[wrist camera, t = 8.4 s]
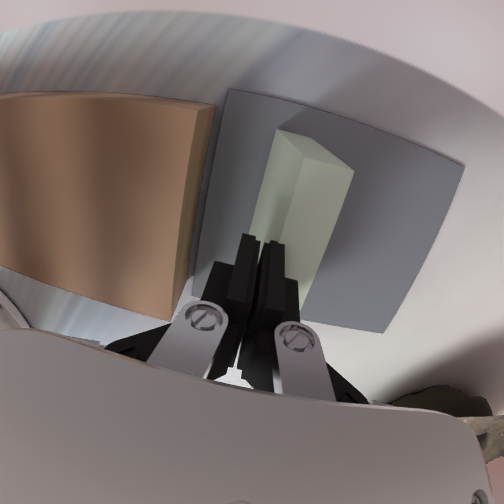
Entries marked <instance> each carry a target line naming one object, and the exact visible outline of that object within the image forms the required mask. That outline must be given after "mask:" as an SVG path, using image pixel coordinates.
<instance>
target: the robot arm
mask: <svg viewBox="0 0 504 504" xmlns="http://www.w3.org/2000/svg"><path fill="white" fill-rule="evenodd" d="M260 244H261V241H258V240H256V236H254V235H249V234H245V233H242V236H241V240H240V244H239V248H238V252H237V256H236V260H235V264H234V265H232V264H228V263H224V262H220V261H216V260H215V261H214V263H213V266H212V269H211V271H210V274H209V277H208V280H207V283H206V285H205V288H204V291H203V294H202V297H201V299H200V301H193V302H190V303H188V304H186V305H185V306H184V307H183V308H182V309H181V310H180V312H179V313H178V315H177V316H176V318H175V319H174V321H173V322H172V323H170V324H167V325H164V326H161V327H158V328H155V329H152V330H149V331H146V332H142V333H139V334H136V335H133V336H130V337H127V338H123V339H120V340H117V341H114V342H112V343H110V344H108V345H107V346H104V345H101V343H100V341H94V340H88V339H82V338H76V337H70V336H65V335H61V334H57V333H54V332H50V331H45V330H40V329H34V328H30V327H29V325H28V323H27V322H26V320H25V319H24V317H23V316H22V315H21V313H20V312H19V311H18V309H17V308H16V307H15V306H14V305H13V303H12V302H11V301H10V300H9V299H8V298H7V297H6V296H5V295H4V294H3V293H2V292H1V291H0V504H495V502H494V496H493V490H492V485H491V481H490V477H489V473H488V469H487V465H486V461H485V458H484V455H483V452H482V449H481V447H480V444H479V442H478V439H477V437H476V435H475V433H474V432H473V430H472V429H471V428H470V426H469V425H467V424H466V423H465V422H463V421H461V420H460V419H458V418H456V417H453V416H451V415H448V414H445V413H441V412H438V411H433V410H426V409H418V408H406V407H396V406H392V405H389V404H385V403H382V402H378V401H375V400H372V401H371V402H368V401H367V399H366V398H365V397H364V396H363V394H362V393H360V392H359V391H358V390H357V389H356V388H355V387H354V386H353V385H351V384H350V383H349V382H348V381H347V380H346V379H345V378H343V377H342V376H341V375H340V374H339V373H338V372H337V371H336V370H334V369H333V368H332V367H331V366H330V365H329V364H328V363H327V362H326V361H325V358H324V354H323V351H322V347H321V343H320V340H319V338H318V336H317V334H316V333H315V332H314V331H313V329H311V328H310V327H308V326H307V325H305V324H302V323H300V309H299V290H298V281H297V280H294V279H290V278H286V277H285V244H280V243H278V241H274V240H270V243H266V242H264V245H263V248H262V252H261V255H260V259H259V251H260ZM258 259H259V262H258ZM240 343H241V345H240ZM239 346H240V351H239V357H238V363H237V369H240V370H242V375H241V379H245V380H246V381H247V382H248V383H249V384H250V385H251V386H252V387H251V388H245V387H241V386H236V385H231V384H226V383H222V382H218V381H214V380H215V379H217V378H219V377H221V376H223V375H225V374H226V372H227V369H228V367H231V368H233V365H234V362H235V359H236V356H237V352H238V349H239Z"/></svg>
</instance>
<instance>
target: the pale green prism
mask: <svg viewBox="0 0 504 504" xmlns="http://www.w3.org/2000/svg"><path fill="white" fill-rule="evenodd" d="M353 174H354V170H352V169H351V168H350V167H349V166H347V165H346V164H345V163H343V162H342V161H341V160H340V159H338V158H337V157H336V156H334V155H333V154H332V153H330V152H329V151H328V150H327V149H325V148H324V147H322V146H321V145H320V144H318V143H317V142H316V141H314V140H313V139H312V138H310V137H306V136H303V135H299V134H295V133H291V132H287V131H283V130H279V129H276V132H275V136H274V140H273V143H272V147H271V151H270V155H269V158H268V162H267V166H266V170H265V173H264V177H263V181H262V185H261V188H260V192H259V196H258V200H257V204H256V207H255V211H254V215H253V219H252V223H251V227H250V230H249V235H254V236H256V240H258V241H261V244H260V251H259V259H260V255H261V252H262V248H263V245H264V242H266V243H270V240H274V241H278V243H280V244H285V277H286V278H290V279H294V280H297V281H298V290H299V309H300V310H301V308H302V305H303V303H304V301H305V298H306V296H307V294H308V291H309V289H310V287H311V284H312V282H313V279H314V277H315V275H316V272H317V270H318V267H319V265H320V262H321V260H322V257H323V255H324V252H325V250H326V247H327V245H328V242H329V239H330V237H331V234H332V232H333V229H334V226H335V224H336V221H337V218H338V216H339V213H340V210H341V208H342V205H343V202H344V199H345V197H346V194H347V191H348V188H349V186H350V183H351V180H352V177H353ZM259 259H258V262H259ZM240 345H241V343H240ZM239 351H240V346H239V349H238V357H239Z"/></svg>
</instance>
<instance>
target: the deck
mask: <svg viewBox="0 0 504 504" xmlns="http://www.w3.org/2000/svg"><path fill="white" fill-rule="evenodd" d="M215 109H216V105H211V104H205V103H199V102H192V101H186V100H179V99H171V98H163V97H155V96H145V95H135V94H123V93H107V92H84V91H39V92H17V93H3V94H0V266H3V267H5V268H7V269H10V270H12V271H15V272H17V273H20V274H23V275H25V276H28V277H30V278H33V279H36V280H38V281H41V282H44V283H47V284H49V285H52V286H55V287H58V288H61V289H64V290H66V291H69V292H72V293H75V294H78V295H81V296H84V297H87V298H90V299H94V300H97V301H100V302H103V303H106V304H110V305H113V306H116V307H119V308H123V309H126V310H130V311H133V312H137V313H140V314H144V315H147V316H151V317H155V318H158V319H162V320H166V321H171V318H172V316H173V313H174V311H175V308H176V306H177V303H178V301H179V298H180V296H181V293H182V291H183V289H184V286H185V284H186V281H187V275H188V267H189V260H190V253H191V246H192V239H193V232H194V225H195V219H196V212H197V206H198V200H199V194H200V188H201V182H202V176H203V170H204V165H205V159H206V154H207V149H208V143H209V138H210V133H211V128H212V123H213V118H214V113H215Z"/></svg>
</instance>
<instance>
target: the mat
mask: <svg viewBox="0 0 504 504" xmlns="http://www.w3.org/2000/svg"><path fill="white" fill-rule="evenodd" d="M276 129H279V130H283V131H287V132H291V133H295V134H299V135H303V136H306V137H310V138H312V139H313V140H314V141H316V142H317V143H318V144H320V145H321V146H322V147H324V148H325V149H327V150H328V151H329V152H330V153H332V154H333V155H334V156H336V157H337V158H338V159H340V160H341V161H342V162H343V163H345V164H346V165H347V166H349V167H350V168H351V169H352V170H354V174H353V177H352V180H351V183H350V186H349V188H348V191H347V194H346V197H345V199H344V202H343V205H342V208H341V210H340V213H339V216H338V218H337V221H336V224H335V226H334V229H333V232H332V234H331V237H330V239H329V242H328V245H327V247H326V250H325V252H324V255H323V257H322V260H321V262H320V265H319V267H318V270H317V272H316V275H315V277H314V279H313V282H312V284H311V287H310V289H309V291H308V294H307V296H306V298H305V301H304V303H303V305H302V308H301V310H300V319H301V320H306V321H312V322H317V323H323V324H328V325H334V326H340V327H345V328H351V329H357V330H363V331H370V332H376V333H384V331H385V330H386V328H387V327H388V325H389V323H390V322H391V320H392V318H393V317H394V315H395V313H396V312H397V310H398V308H399V307H400V305H401V303H402V301H403V300H404V298H405V296H406V294H407V293H408V291H409V289H410V287H411V285H412V284H413V282H414V280H415V278H416V276H417V274H418V272H419V270H420V269H421V267H422V265H423V263H424V261H425V259H426V257H427V255H428V253H429V251H430V249H431V247H432V244H433V242H434V240H435V238H436V236H437V234H438V232H439V230H440V227H441V225H442V223H443V221H444V218H445V216H446V214H447V211H448V209H449V207H450V204H451V202H452V199H453V197H454V194H455V192H456V189H457V187H458V184H459V182H460V179H461V176H462V174H463V171H464V167H462V166H460V165H458V164H456V163H454V162H452V161H450V160H448V159H446V158H444V157H442V156H440V155H438V154H436V153H433V152H431V151H429V150H427V149H425V148H422V147H420V146H418V145H415V144H413V143H411V142H408V141H406V140H404V139H401V138H399V137H396V136H394V135H391V134H389V133H386V132H383V131H381V130H378V129H375V128H373V127H370V126H367V125H364V124H362V123H359V122H356V121H353V120H350V119H347V118H344V117H341V116H338V115H334V114H331V113H328V112H325V111H321V110H318V109H314V108H311V107H307V106H304V105H300V104H296V103H293V102H289V101H285V100H281V99H277V98H272V97H268V96H264V95H259V94H255V93H250V92H245V91H240V90H235V89H228V94H227V98H226V103H225V107H224V112H223V116H222V121H221V126H220V131H219V136H218V141H217V146H216V151H215V156H214V161H213V166H212V171H211V177H210V182H209V188H208V193H207V199H206V205H205V210H204V216H203V222H202V228H201V235H200V241H199V247H198V254H197V260H196V267H195V274H194V281H193V288H192V295H191V296H195V297H199V298H201V297H202V294H203V291H204V288H205V285H206V283H207V280H208V277H209V274H210V271H211V269H212V266H213V263H214V261H215V260H216V261H220V262H224V263H228V264H232V265H234V264H235V260H236V256H237V252H238V248H239V244H240V240H241V236H242V233H245V234H249V230H250V227H251V223H252V219H253V215H254V211H255V207H256V204H257V200H258V196H259V192H260V188H261V185H262V181H263V177H264V173H265V170H266V166H267V162H268V158H269V155H270V151H271V147H272V143H273V140H274V136H275V132H276Z"/></svg>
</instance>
